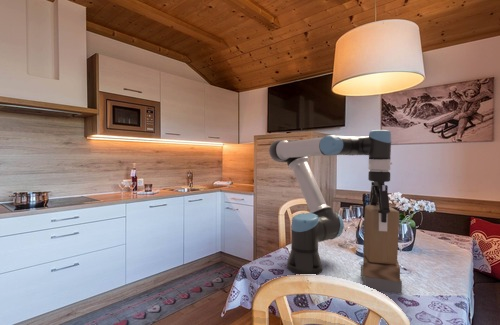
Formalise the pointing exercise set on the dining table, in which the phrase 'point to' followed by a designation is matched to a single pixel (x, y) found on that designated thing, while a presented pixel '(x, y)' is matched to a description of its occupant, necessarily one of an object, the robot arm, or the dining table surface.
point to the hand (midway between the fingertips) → (378, 226)
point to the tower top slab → (381, 270)
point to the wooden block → (380, 236)
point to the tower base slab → (381, 284)
